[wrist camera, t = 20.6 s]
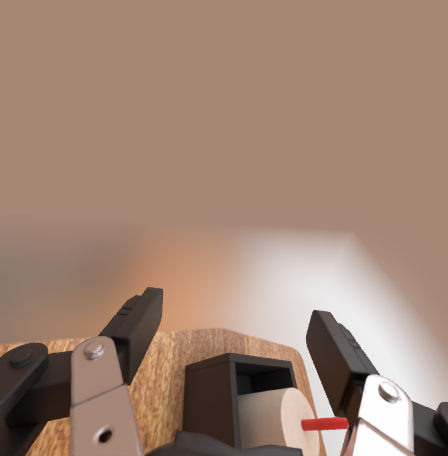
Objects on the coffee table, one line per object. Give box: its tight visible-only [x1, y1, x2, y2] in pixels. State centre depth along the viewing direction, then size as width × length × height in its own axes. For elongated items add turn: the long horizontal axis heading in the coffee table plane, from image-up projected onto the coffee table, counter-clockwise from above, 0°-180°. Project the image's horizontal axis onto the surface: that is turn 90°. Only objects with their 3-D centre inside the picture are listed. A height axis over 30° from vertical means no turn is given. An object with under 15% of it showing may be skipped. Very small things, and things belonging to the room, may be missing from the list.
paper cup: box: [238, 388, 349, 456], centre depth 21 cm, size 6×6×16 cm
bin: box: [183, 353, 298, 450], centre depth 24 cm, size 12×12×8 cm
